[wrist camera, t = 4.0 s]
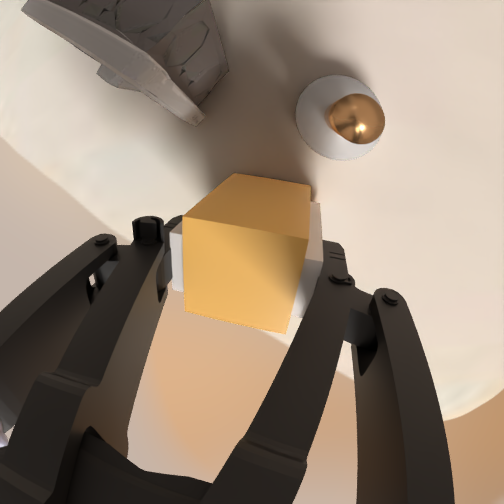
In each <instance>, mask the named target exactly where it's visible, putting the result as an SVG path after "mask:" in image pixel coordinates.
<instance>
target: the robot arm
mask: <svg viewBox="0 0 504 504" xmlns="http://www.w3.org/2000/svg"><path fill="white" fill-rule="evenodd" d="M182 216H184V215H179V216H177V217H174V218H172V219H171V220H170V221H169V222H168V223H166V224H165V225H164V221H163V220H162V219H161V218H159V217H155V216H145V217H140V218H137V219H135V220H134V221H132V226H133V237H134V241H133V242H132V243H131V245H117V240H116V237H115V236H113V235H110V234H99V235H97V236H94V237H92V238H91V239H89V240H88V241H86V242H85V243H84V244H82V245H81V246H80V247H78V248H77V249H75V250H74V251H73V252H71V253H70V254H69V255H67V256H66V257H65V258H64V259H62V260H61V261H60V262H58V263H57V264H56V265H54V266H53V267H52V268H51V269H49V270H48V271H47V272H46V273H45V274H43V275H42V276H41V277H40V278H38V279H37V280H36V281H35V282H33V283H32V284H31V285H30V286H29V287H28V288H26V289H25V290H24V291H23V292H22V293H21V294H19V296H17V297H16V298H15V299H14V300H13V301H12V302H11V303H10V304H8V305H7V306H6V307H5V308H4V309H3V310H2V311H1V312H0V504H292V503H293V501H294V499H295V496H296V494H297V492H298V490H299V487H300V485H301V482H302V480H303V477H304V475H305V472H306V468H307V461H306V460H307V456H308V453H309V450H310V448H311V445H312V442H313V440H314V437H315V434H316V431H317V428H318V425H319V423H320V420H321V417H322V414H323V411H324V407H325V404H326V401H327V398H328V395H329V391H330V388H331V385H332V381H333V378H334V374H335V370H336V367H337V363H338V359H339V355H340V352H341V348H342V344H343V340H344V341H347V342H349V343H351V350H352V360H353V371H354V383H355V397H356V413H357V445H358V446H357V447H358V472H357V476H358V477H357V502H356V504H455V502H454V488H453V478H452V470H451V463H450V456H449V450H448V444H447V438H446V434H445V429H444V424H443V419H442V414H441V410H440V406H439V402H438V398H437V394H436V390H435V386H434V383H433V379H432V376H431V372H430V369H429V366H428V362H427V359H426V356H425V353H424V350H423V347H422V344H421V341H420V338H419V335H418V332H417V330H416V327H415V324H414V321H413V319H412V316H411V313H410V311H409V308H408V306H407V303H406V301H405V299H404V298H403V297H402V296H401V295H400V294H399V293H398V292H396V291H394V290H392V289H388V288H380V289H377V290H376V291H375V292H374V295H371V294H368V293H366V292H363V291H361V290H359V289H358V288H356V287H355V280H354V279H353V277H352V276H351V275H349V274H348V270H347V264H346V261H345V260H346V259H345V253H344V249H343V248H342V246H341V245H340V244H339V243H335V242H330V241H325V240H322V226H321V211H320V203H317V202H312V201H310V228H309V242H308V246H307V251H306V255H305V259H304V264H303V268H302V272H301V276H300V281H299V285H298V289H297V293H296V297H295V301H294V305H293V309H292V313H291V316H295V317H300V318H303V319H302V321H301V323H300V326H299V328H298V330H297V332H296V335H295V337H294V339H293V341H292V343H291V345H290V348H289V350H288V352H287V354H286V356H285V358H284V360H283V362H282V365H281V367H280V369H279V371H278V373H277V375H276V377H275V379H274V381H273V383H272V385H271V387H270V389H269V391H268V393H267V395H266V397H265V399H264V401H263V403H262V405H261V406H260V408H259V410H258V412H257V414H256V416H255V418H254V419H253V422H252V423H251V425H250V427H249V429H248V430H247V432H246V434H245V435H244V437H243V438H242V439H241V440H240V441H239V442H238V443H237V445H236V446H235V448H234V449H233V451H232V453H231V454H230V456H229V458H228V459H227V461H226V463H225V465H224V466H223V468H222V469H221V471H220V472H219V475H218V476H217V478H216V479H215V481H214V482H213V483H209V482H205V481H202V480H198V479H195V478H191V477H186V476H177V475H169V474H161V473H155V472H148V471H144V470H142V469H140V468H138V467H137V466H136V465H135V464H133V463H132V462H130V461H129V460H128V459H127V455H128V437H127V430H128V425H129V420H130V417H131V413H132V409H133V405H134V401H135V397H136V394H137V390H138V387H139V383H140V380H141V376H142V373H143V369H144V366H145V362H146V359H147V356H148V353H149V349H150V346H151V343H152V340H153V336H154V333H155V330H156V327H157V324H158V321H159V318H160V315H161V312H162V309H163V306H164V303H165V300H166V298H167V295H168V289H167V284H168V283H169V282H170V280H171V279H172V289H173V290H177V291H181V292H184V280H183V236H182ZM92 274H93V275H94V279H95V284H93V285H92V286H91V284H90V281H89V277H90V276H91V275H92ZM14 425H15V426H14ZM13 426H14V429H13V431H12V434H11V437H10V439H9V442H8V439H7V436H6V435H5V434H4V433H5V432H7V431H8V430H9V429H11V428H12V427H13Z"/></svg>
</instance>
